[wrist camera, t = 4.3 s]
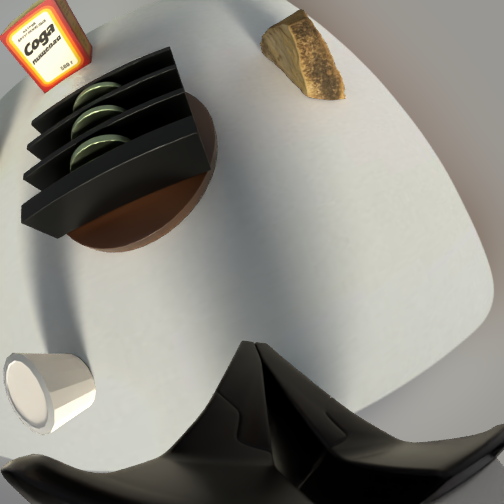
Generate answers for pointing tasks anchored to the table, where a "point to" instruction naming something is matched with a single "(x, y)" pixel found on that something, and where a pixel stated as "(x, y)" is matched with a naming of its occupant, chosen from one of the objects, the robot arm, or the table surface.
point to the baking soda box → (48, 42)
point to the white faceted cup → (47, 388)
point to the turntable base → (153, 203)
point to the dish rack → (112, 145)
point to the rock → (303, 57)
